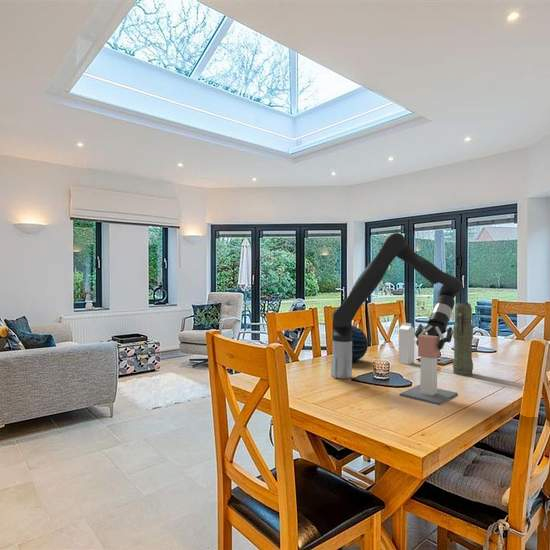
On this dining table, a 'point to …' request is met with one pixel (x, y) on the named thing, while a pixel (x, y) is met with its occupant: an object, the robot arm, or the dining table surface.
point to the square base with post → (428, 384)
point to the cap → (428, 346)
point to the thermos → (463, 339)
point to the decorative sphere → (357, 343)
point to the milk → (406, 343)
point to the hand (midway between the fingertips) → (428, 347)
